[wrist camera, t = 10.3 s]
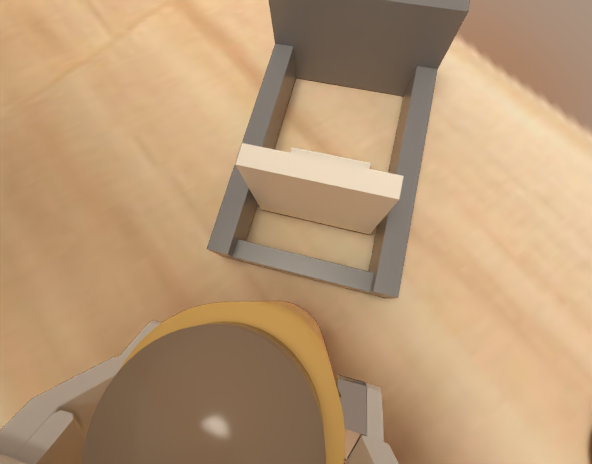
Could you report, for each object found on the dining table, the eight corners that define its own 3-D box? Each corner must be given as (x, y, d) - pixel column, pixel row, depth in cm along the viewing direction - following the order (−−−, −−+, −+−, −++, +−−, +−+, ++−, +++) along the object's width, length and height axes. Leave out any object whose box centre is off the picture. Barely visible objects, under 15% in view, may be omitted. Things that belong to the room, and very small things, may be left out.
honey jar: (212, 332, 16) (22, 392, 6) (293, 283, 17) (260, 253, 6) (257, 425, 15) (119, 736, 4) (344, 370, 15) (414, 529, 5)
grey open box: (385, 298, 19) (425, 296, 12) (221, 256, 20) (175, 234, 13) (423, 86, 23) (470, -5, 16) (283, 63, 24) (271, -30, 17)
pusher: (368, 235, 20) (399, 199, 13) (261, 210, 21) (235, 164, 14) (382, 169, 21) (417, 103, 14) (280, 148, 22) (264, 77, 15)
